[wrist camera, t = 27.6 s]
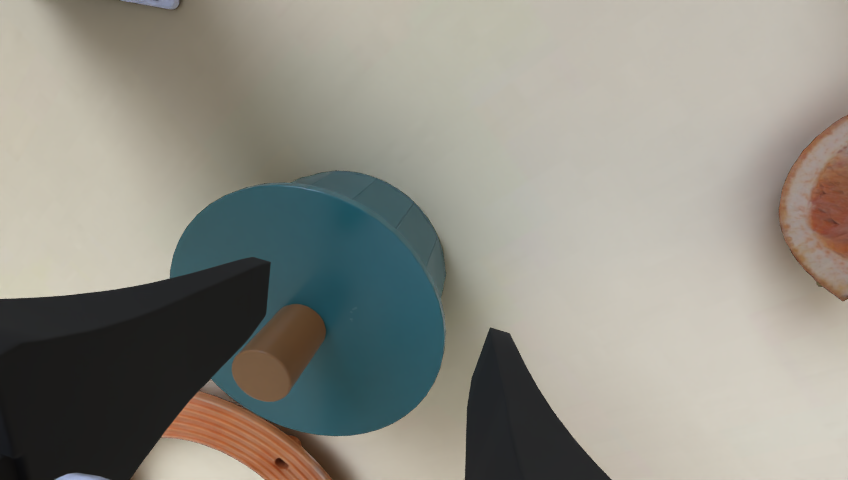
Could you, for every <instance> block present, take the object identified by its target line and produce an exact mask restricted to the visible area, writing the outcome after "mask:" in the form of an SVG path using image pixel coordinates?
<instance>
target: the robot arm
mask: <svg viewBox="0 0 848 480" xmlns="http://www.w3.org/2000/svg"><path fill="white" fill-rule="evenodd" d="M121 1H127V2H132V3H138V4H143V5H149V6H154V7H160V8H166V9H175V8H177V7H178V5H179V0H121ZM270 266H271V262H269V261H265V260H262V259H259V258H255V257H250V258H245V259H241V260H237V261H233V262H229V263H226V264H222V265H219V266H215V267H212V268H208V269H205V270H201V271H198V272H194V273H190V274H186V275H182V276H178V277H174V278H170V279H166V280H162V281H158V282H154V283H149V284H144V285H139V286H134V287H128V288H122V289H116V290H109V291H102V292H93V293H84V294H75V295H66V296H54V297H39V298H17V299H0V480H130V478H131V477H132V476H133V474H134V473H135V471H136V470H137V469H138V467H139V466H140V464H141V463H142V462H143V460H144V459H145V458H146V456H147V455H148V454H149V452H150V451H151V450H152V448H153V447H154V446H155V444H156V443H157V442H158V440H159V439H160V438H161V436H162V435H163V434H164V432H165V431H166V430H167V429H168V427H169V426H170V425H171V423H172V422H173V421H174V420H175V418H176V417H177V416H178V415H179V413H180V412H181V411H182V410H183V408H184V407H185V406H186V405H187V403H188V402H189V401H190V400H191V399H192V398H193V397H194V396H195V394H196V393H197V392H198V391H199V390H200V389H201V388H202V387H203V386H204V385H205V384H206V383H207V382H208V381H209V380H210V379H211V378H212V377H213V376H214V375H215V374H216V373H217V372H218V371H219V370H220V369H221V367H222V366H223V365H224V364H225V363H226V362H227V361H228V360H229V359H230V358H231V357H232V356H233V355H234V354H235V353H236V352H237V351H238V350H239V349H240V348H241V347H242V346H243V345H244V344H245V342H246V341H247V340H248V339H249V338H250V337H251V335H252V334H253V333H254V331H255V330H256V329H257V327H258V326H259V324H260V323H261V321H262V320H263V319H264V317H265V316H266V310H267V299H268V288H269V277H270ZM465 480H611V479H610V478H609V477H608V476H607V474H606V473H605V472H604V471H603V470H602V469H601V468H600V467H599V466H598V465H597V464H596V463H595V462H594V461H593V460H592V458H591V457H590V456H589V455H588V454H587V453H586V452H585V451H584V450H583V448H582V447H581V446H580V445H579V444H578V443H577V441H576V440H575V439H574V438H573V437H572V435H571V434H570V433H569V431H568V430H567V429H566V428H565V426H564V425H563V424H562V422H561V421H560V420H559V418H558V417H557V416H556V414H555V413H554V411H553V410H552V409H551V407H550V406H549V404H548V403H547V401H546V399H545V398H544V396H543V395H542V393H541V392H540V390H539V388H538V387H537V385H536V383H535V381H534V380H533V378H532V376H531V374H530V373H529V371H528V369H527V367H526V365H525V363H524V361H523V359H522V357H521V355H520V353H519V351H518V349H517V347H516V345H515V343H514V341H513V339H512V337H511V335H510V333H507V332H503V331H500V330H497V329H493V328H490V329H489V332H488V335H487V337H486V340H485V343H484V346H483V348H482V351H481V354H480V357H479V359H478V362H477V365H476V368H475V371H474V373H473V376H472V380H471V386H470V392H469V399H468V406H467V427H466V464H465Z"/></svg>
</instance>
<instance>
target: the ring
mask: <svg viewBox="0 0 848 480" xmlns="http://www.w3.org/2000/svg"><path fill="white" fill-rule="evenodd" d="M161 438H176V439H183V440H188V441H192V442H196V443H199V444H202V445H205V446H208V447H211V448H213V449H216V450H218V451H221V452H223V453H225V454H227V455H229V456H231V457H233V458H234V459H236V460H238V461H239V462H241V463H243V464H245V465H246V466H248V467H249V468H250V469H252V470H253V471H255V472H256V473H257V474H259V475H260V476H261V477H262V478H263V479H265V480H332V479H331V477H330V476H329V475H328V474H327V473H326V471H325V470H324V469H323V468H322V467H321V466H320V464H319V463H318V462H317V461H316V460H315V459H314V458H313V457H312V456H311V455H310V454H309V453H308V452H307V451H306V450H305V449H304V448H302V447H301V446H302V445H301V442H300V440H299V439H298V438H296V437H295V436H292V435H286V434H285V433H284V432H282V431H281V430H279V429H278V428H276V427H275V426H274V425H272V424H271V423H269V422H267V421H266V420H264V419H262V418H261V417H259V416H257V415H255V414H254V413H252V412H250V411H248V410H246V409H244V408H242V407H240V406H238V405H236V404H234V403H231V402H229V401H226V400H224V399H221V398H219V397H216V396H213V395H210V394H207V393H203V392H200V391H198V392H197V393H196V394H195V396H194V397H193V398H192V399H191V400H190V401H189V402H188V403H187V405H186V406H185V407H184V408H183V410H182V411H181V412H180V413H179V415H178V416H177V417H176V418H175V420H174V421H173V422H172V423H171V425H170V426H169V427H168V429H167V430H166V431H165V432H164V434H163V435H162V436H161Z"/></svg>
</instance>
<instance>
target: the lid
mask: <svg viewBox="0 0 848 480" xmlns="http://www.w3.org/2000/svg"><path fill="white" fill-rule="evenodd" d="M250 257H255V258H259V259H262V260H265V261H269V262H271V266H270V277H269V288H268V299H267V310H266V316H265V317H264V319H263V320H262V321H261V323H260V324H259V326H258V327H257V329H256V330H255V331H254V333H253V334H252V335H251V337H250V338H249V339H248V340H247V341H246V342H245V344H244V345H243V346H242V347H241V348H240V349H239V350H238V351H237V352H236V353H235V354H234V355H233V356H232V357H231V358H230V359H229V360H228V361H227V362H226V363H225V364H224V365H223V366H222V367H221V369H220V370H219V371H218V372H217V373H216V374H215V375H214V376H213V377H212V378H211V379H212V380H213V381H214V382H215V384H216V385H217V386H218V387H220V388H221V389H222V390H223V391H224V392H225V393H226V394H228V395H229V396H230V397H231V398H233V399H234V400H235V401H237V402H238V403H239V404H241V405H242V406H243V407H245V408H247V409H248V410H250V411H252V412H253V413H255V414H257V415H259V416H261V417H263V418H265V419H267V420H269V421H271V422H273V423H276V424H278V425H281V426H284V427H286V428H289V429H293V430H297V431H300V432H304V433H310V434H316V435H325V436H351V435H357V434H364V433H368V432H371V431H375V430H379V429H381V428H383V427H386V426H388V425H390V424H393V423H394V422H396V421H398V420H399V419H401V418H403V417H404V416H406V415H407V414H408V413H409V412H411V411H412V410H413V409H414V408H415V407H417V405H418V404H419V403H420V402H421V401H422V400H423V399H424V397H425V396H426V395H427V393H428V392H429V390H430V389H431V387H432V385H433V384H434V382H435V380H436V377H437V375H438V372H439V370H440V367H441V362H442V358H443V354H444V349H445V336H446V328H445V316H444V311H443V307H442V303H441V298H440V295H439V293H438V290H437V288H436V285H435V282H434V280H433V278H432V276H431V274H430V272H429V271H428V269H427V267H426V265H425V263H424V262H423V260H422V259H421V258H420V256H419V255H418V254H417V252H416V251H415V249H414V248H413V247H412V245H411V244H410V243H409V242H408V241H407V240H406V239H405V238H404V237H403V236H402V235H401V234H400V233H399V232H398V230H396V229H395V228H394V227H393V226H392V225H390V224H389V223H388V222H387V221H386V220H384V219H383V218H382V217H381V216H379V215H378V214H376V213H375V212H373V211H372V210H370V209H369V208H367V207H366V206H364V205H362V204H360V203H358V202H356V201H354V200H352V199H350V198H348V197H346V196H344V195H341V194H338V193H336V192H333V191H330V190H327V189H324V188H320V187H315V186H311V185H306V184H297V183H285V182H282V183H264V184H260V185H255V186H250V187H246V188H243V189H240V190H238V191H235V192H232V193H230V194H227V195H225V196H223V197H221V198H220V199H218V200H216V201H215V202H213V203H211V204H209V205H208V206H207V207H206V208H205V209H203V210H202V211H201V212H200V213H199V214H197V216H196V217H195V218H194V219H193V220H192V221H191V223H190V224H189V225H188V226H187V228H186V229H185V231H184V233H183V234H182V236H181V238H180V240H179V242H178V244H177V247H176V249H175V252H174V255H173V259H172V264H171V269H170V278H174V277H178V276H182V275H186V274H190V273H194V272H198V271H201V270H205V269H208V268H212V267H215V266H219V265H222V264H226V263H229V262H233V261H237V260H241V259H245V258H250Z"/></svg>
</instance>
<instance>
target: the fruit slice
mask: <svg viewBox="0 0 848 480" xmlns="http://www.w3.org/2000/svg"><path fill="white" fill-rule="evenodd" d="M779 221H780V226H781V230H782V233H783V235H784V239H785V241H786V243H787V244H788V246H789V248H790V250H791V253H792V254H793V255H794V257H795V258H796V260H797V261H798V262H799V263H800V265H801V266H802V267H803V268H804V269H805V270H806V272H807V273H809V274H810V275H811V276H812V277H813V278H814V279H815V280H816V285H818V286H820V287H822V286H823V287H824V288H825V289H827V290H828V291H829V292H831V293H832V294H834V295H835V296H836V297H838V298H839V299H840V300H841V301H845V300H846V299H848V115H847V116H845V117H843V118H841V119H839V120H838V121H836V122H835V123H834V124H832V125H831V126H830V127H829V128H827V129H826V130H825V131H824V132H822V133H821V134H820V135H818V136H817V137H816V138H815V139H814V140H813V141H812V142H811V144H810V145H809V146H808V147H806V148H805V149H804V150H803V151H802V153H801V155H800V156H799V158H798V159H797V161H796V162H795V164H794V165H793V166H792V168H791V170H790V172H789V174H788V176H787V178H786V180H785V183H784V185H783V188H782V193H781V199H780V206H779Z"/></svg>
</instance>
